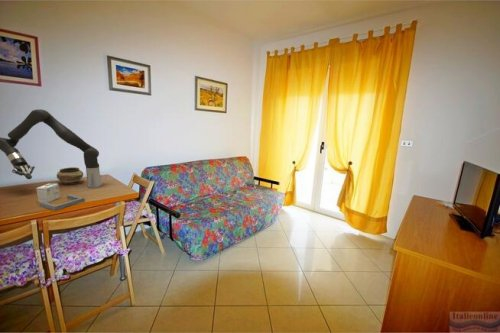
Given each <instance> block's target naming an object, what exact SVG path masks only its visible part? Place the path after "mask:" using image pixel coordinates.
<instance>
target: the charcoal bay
mask: <svg viewBox="0 0 500 333" xmlns="http://www.w3.org/2000/svg"><path fill="white" fill-rule="evenodd" d="M66 199H67V200H68V199H69V201H67V202H62V203H60V204H54V203H51V202H49V203H47V202H43V201H42V202H39V201H38V205H39V207H42V208H45V209H46V208H47V209H49V210H51V211H52V210H53V211H59V210H61V209H62V210H63V209H64V208H67V207H71V206H74V205H78V204H80V203H83V202H86V200H85V197H81V196H77V195H74V194H66Z"/></svg>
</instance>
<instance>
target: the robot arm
mask: <svg viewBox="0 0 500 333" xmlns="http://www.w3.org/2000/svg"><path fill="white" fill-rule="evenodd" d="M39 123H44V124H45V125H47V126H48V127H50V128H51V129H52V130H53V132H54V133H55V134H56V136H57V137H58V138H60V139H61V140H62V141H64V142H65V143H67V144H68V145H71V146H73V147H75V148H77V149H78V150H80V151H81V152H83V161H84V165H85V172H86V180H87V181H86V183H87V188H88V189H97V188H100V187H102V186H103V180H102V175H101V171H100V163H99V162H98V161H99V160H98V157H99V155H100V152H99V150H98V149H97V148H95V147H94V146H92V145H90V144H89V143H87V142H86V141H84V139H82V137H80V136H79V135H78V134H76V133H75V132H73V130H71V129H69V128H68V127H67V126H65V125H64V124H62V123H61V122H60V121H59V120H57V118H55V117H54V116H53V115H52V114H51V113H50V112H49V111H47V110H45V109H42V108H41V109H34V110H31V111H30V113H28V115H27V116H26V117H25V118H24V120H23V121H21V123H19V124H18V125H17V126H16V127H14V128H13V129H12V130H10V131H9V132H8V133H7V136H8V138H5V137H0V151H1V152H3V153H4V154H5V155H6V157H7V159H8V161H9V162H10V164H11V165H12V167H13V169H12V171H11V172H12V174H15V175H18V176H21V177H22V176H24V177H25V179H26V180H31V179H32V178H33V175H32V174H33V172H34V169H35V168H36V167H35V166H34V165H33V166H31V165H30V164H29V163H28V162H27V160H26V159H25V157H24V156H23V154H21V152H20V151H19V149H18V148H16V147H17V145H18V143H19V141H20V140H21V139H22V138H23V137H24V136H26V135H28V133H29V132H30V130H31V129H32V128H33V127H35V126H36V125H38V124H39Z"/></svg>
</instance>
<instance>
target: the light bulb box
mask: <svg viewBox="0 0 500 333" xmlns="http://www.w3.org/2000/svg"><path fill="white" fill-rule="evenodd" d="M36 194H37V199H38V203H39V202H42V201H43V202H47V203H51V202H53V201H55V200H57V199H59V198H61V197H60V196H61V195H60V186H59V183H46V184H44V185H41V186H38V187H36Z"/></svg>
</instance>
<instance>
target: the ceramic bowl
mask: <svg viewBox="0 0 500 333" xmlns="http://www.w3.org/2000/svg"><path fill="white" fill-rule="evenodd" d="M83 177H84V172H83V171H82V170H80V168H79V167H74V166H72V167H65V168H64V167H63V168H61V169H59V171H57V173H56V179H58V180H59V181H60V182H62V183H64V184H65V185H75V184H78V183H79V181H80V180H81V179H82V178H83Z"/></svg>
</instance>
